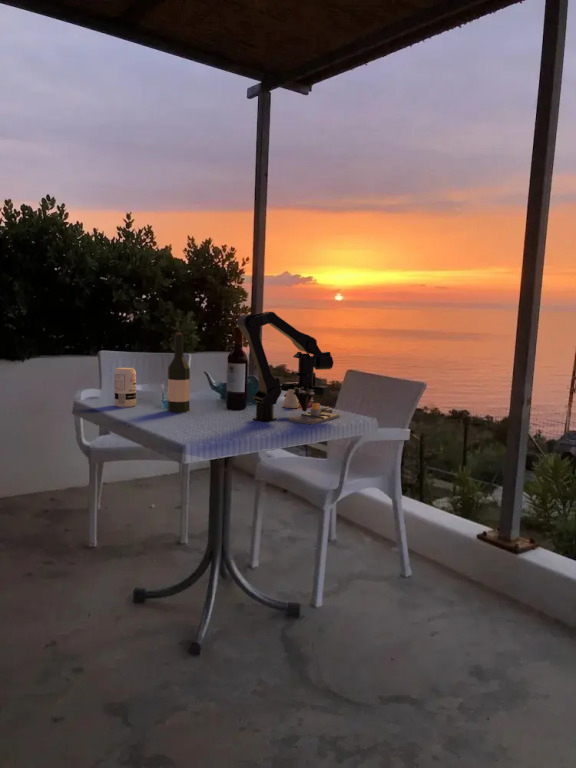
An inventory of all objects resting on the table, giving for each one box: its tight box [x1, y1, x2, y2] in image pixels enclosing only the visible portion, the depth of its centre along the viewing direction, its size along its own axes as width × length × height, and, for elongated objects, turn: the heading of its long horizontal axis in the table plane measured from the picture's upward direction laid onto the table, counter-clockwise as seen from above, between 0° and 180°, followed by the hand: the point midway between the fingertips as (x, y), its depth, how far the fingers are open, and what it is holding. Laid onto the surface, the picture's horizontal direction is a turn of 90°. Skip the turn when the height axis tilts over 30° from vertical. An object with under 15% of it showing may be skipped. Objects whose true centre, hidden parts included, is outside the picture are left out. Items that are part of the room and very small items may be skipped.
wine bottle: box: [167, 332, 191, 414], centre depth 227 cm, size 8×8×30 cm
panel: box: [288, 411, 340, 425], centre depth 221 cm, size 20×10×2 cm, turn 147°
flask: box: [281, 389, 300, 409], centre depth 245 cm, size 7×7×10 cm
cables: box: [320, 406, 333, 413], centre depth 234 cm, size 9×4×2 cm, turn 147°
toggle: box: [310, 402, 321, 416], centre depth 221 cm, size 3×3×4 cm
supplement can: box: [113, 366, 137, 408], centre depth 235 cm, size 8×8×15 cm
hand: (304, 411), depth 224 cm, fingers closed
